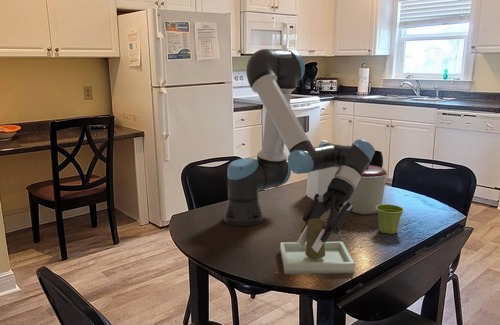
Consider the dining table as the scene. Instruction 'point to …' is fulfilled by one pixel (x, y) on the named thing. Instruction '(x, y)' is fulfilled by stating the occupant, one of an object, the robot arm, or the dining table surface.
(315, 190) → the milk
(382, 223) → the plant pot
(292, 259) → the tray
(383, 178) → the canister
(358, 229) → the dining table surface
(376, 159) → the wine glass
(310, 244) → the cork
